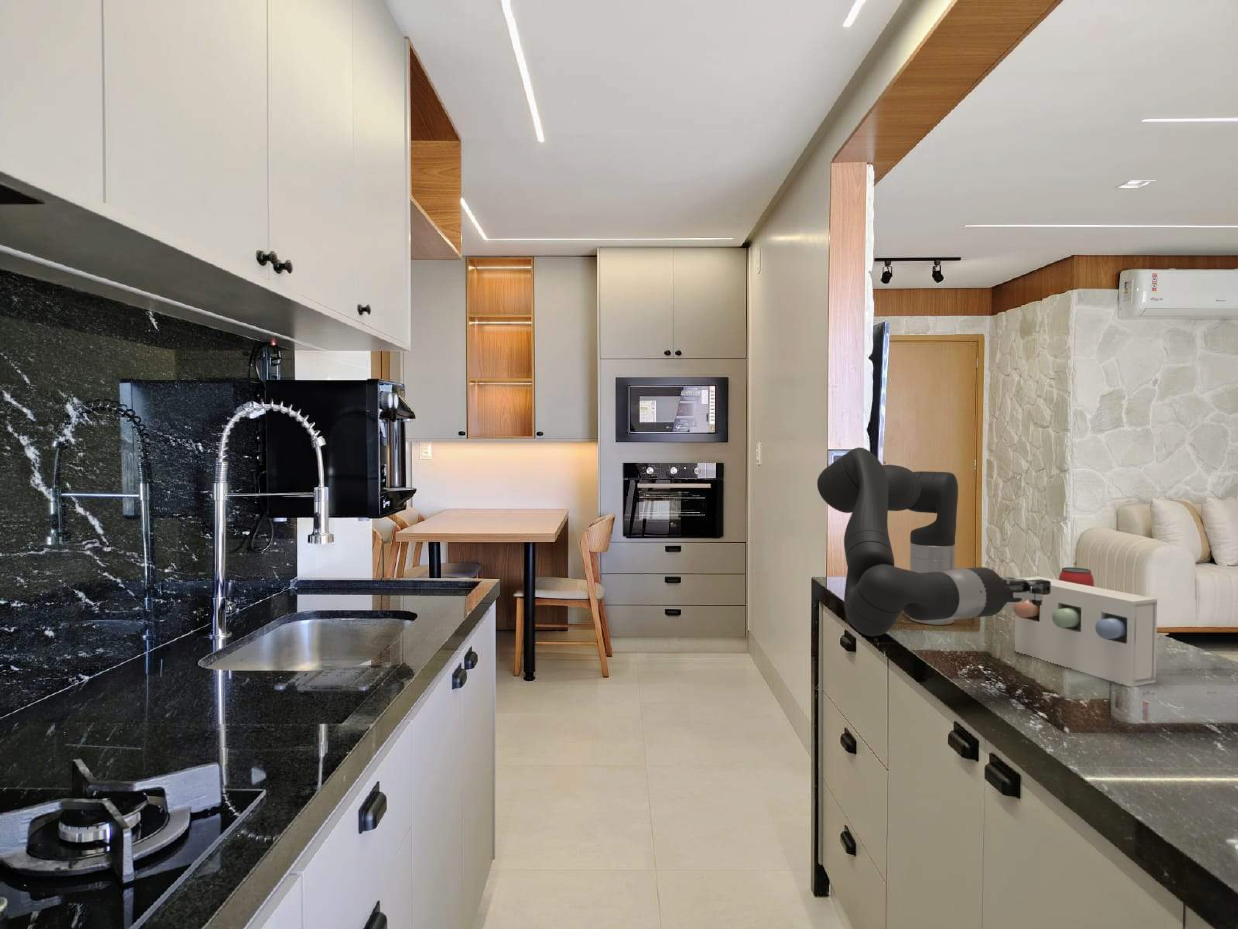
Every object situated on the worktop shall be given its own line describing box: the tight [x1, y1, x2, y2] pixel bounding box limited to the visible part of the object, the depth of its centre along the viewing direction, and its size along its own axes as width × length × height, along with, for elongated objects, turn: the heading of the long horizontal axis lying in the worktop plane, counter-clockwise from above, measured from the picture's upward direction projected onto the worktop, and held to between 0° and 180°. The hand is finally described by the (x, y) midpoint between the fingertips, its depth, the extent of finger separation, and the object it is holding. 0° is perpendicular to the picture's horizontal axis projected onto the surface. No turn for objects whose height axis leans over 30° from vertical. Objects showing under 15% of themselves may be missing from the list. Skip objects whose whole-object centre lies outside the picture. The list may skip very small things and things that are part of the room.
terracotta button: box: [1012, 599, 1040, 618], centre depth 139 cm, size 3×4×3 cm
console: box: [1014, 575, 1158, 688], centre depth 133 cm, size 22×6×14 cm, turn 22°
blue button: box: [1095, 617, 1127, 639], centre depth 124 cm, size 3×4×3 cm
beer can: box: [1058, 566, 1095, 587], centre depth 164 cm, size 7×7×12 cm
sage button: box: [1052, 608, 1081, 628], centre depth 131 cm, size 3×4×3 cm
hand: (1046, 586), depth 120 cm, fingers closed
